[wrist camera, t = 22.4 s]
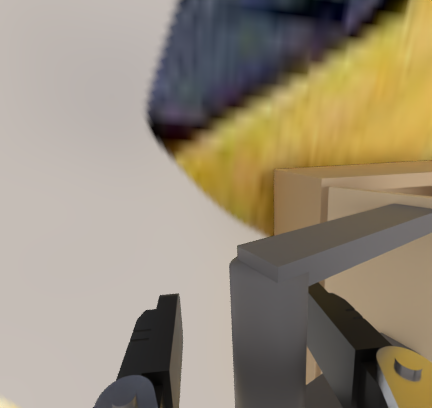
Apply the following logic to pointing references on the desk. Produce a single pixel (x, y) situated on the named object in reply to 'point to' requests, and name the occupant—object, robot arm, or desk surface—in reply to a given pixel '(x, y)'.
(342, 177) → the carton
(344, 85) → the desk surface
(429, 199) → the flap
